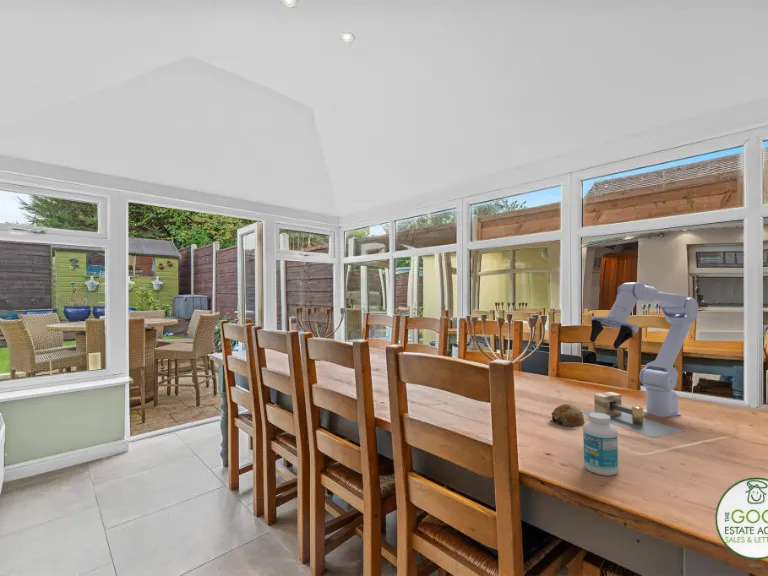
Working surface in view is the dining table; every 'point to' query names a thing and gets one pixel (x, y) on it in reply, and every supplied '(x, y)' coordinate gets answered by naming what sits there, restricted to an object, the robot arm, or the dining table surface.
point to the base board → (641, 425)
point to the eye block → (607, 403)
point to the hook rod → (630, 412)
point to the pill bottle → (600, 445)
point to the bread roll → (568, 415)
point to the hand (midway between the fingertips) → (602, 344)
